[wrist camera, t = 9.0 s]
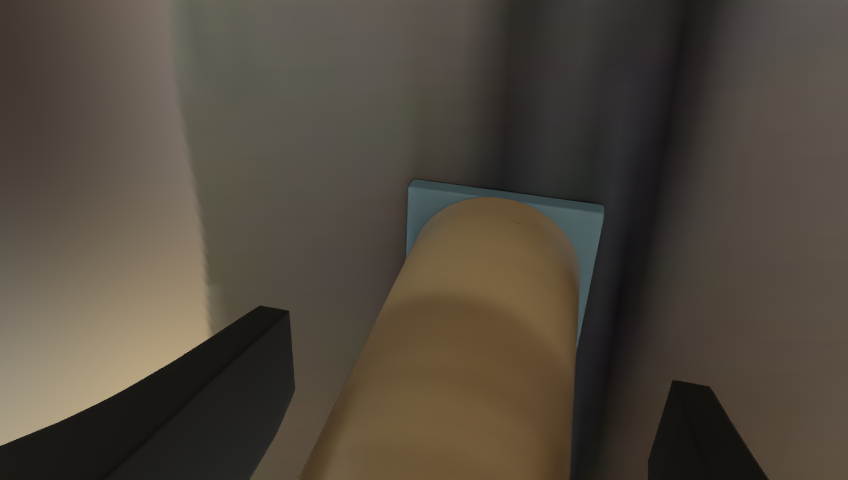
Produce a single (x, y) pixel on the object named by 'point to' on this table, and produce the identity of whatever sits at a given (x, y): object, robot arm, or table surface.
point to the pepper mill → (465, 357)
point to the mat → (570, 216)
